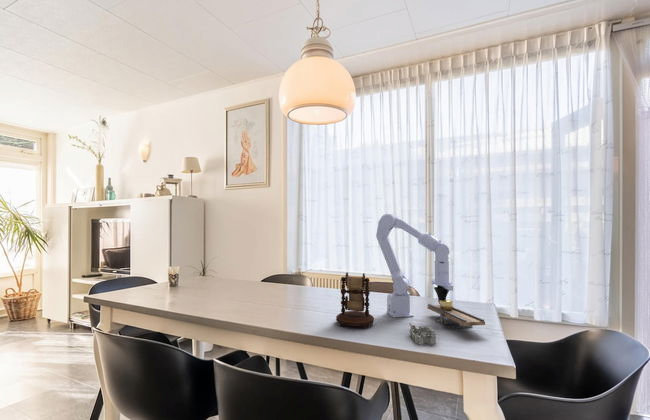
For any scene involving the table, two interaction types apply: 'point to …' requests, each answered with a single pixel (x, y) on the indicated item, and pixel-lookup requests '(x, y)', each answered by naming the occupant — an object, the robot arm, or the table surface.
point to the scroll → (355, 302)
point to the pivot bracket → (449, 323)
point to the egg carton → (423, 334)
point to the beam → (458, 316)
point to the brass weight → (446, 305)
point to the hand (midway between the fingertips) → (442, 304)
